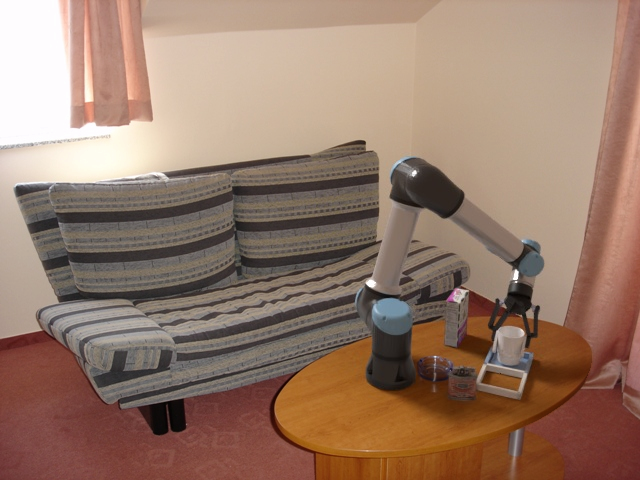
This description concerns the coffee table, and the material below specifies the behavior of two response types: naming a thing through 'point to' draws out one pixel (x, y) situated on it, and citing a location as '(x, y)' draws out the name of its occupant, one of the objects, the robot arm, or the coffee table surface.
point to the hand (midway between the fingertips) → (507, 354)
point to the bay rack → (514, 370)
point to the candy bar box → (456, 317)
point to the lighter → (462, 383)
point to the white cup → (509, 344)
